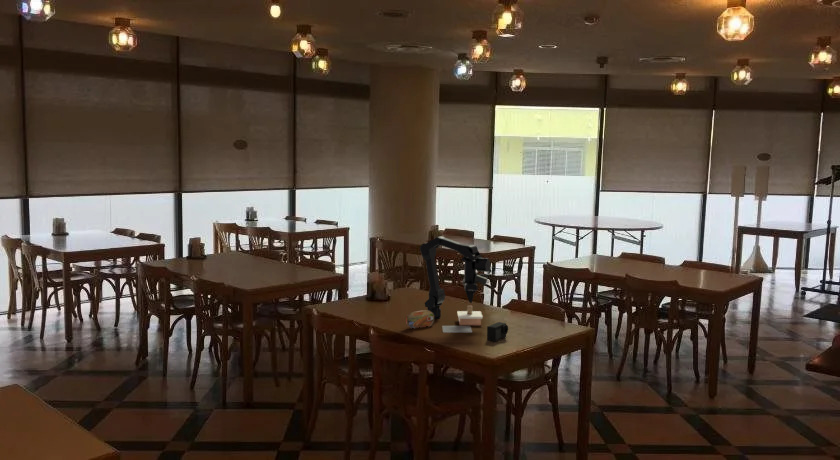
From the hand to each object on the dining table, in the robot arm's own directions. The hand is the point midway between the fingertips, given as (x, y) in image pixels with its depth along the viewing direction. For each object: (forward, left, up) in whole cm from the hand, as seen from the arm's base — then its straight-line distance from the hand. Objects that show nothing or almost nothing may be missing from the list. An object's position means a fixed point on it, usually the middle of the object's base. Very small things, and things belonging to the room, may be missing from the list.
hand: (470, 300), depth 359 cm
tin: (-25, -8, -12) cm, 29 cm away
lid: (0, 0, -8) cm, 8 cm away
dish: (0, 0, -12) cm, 12 cm away
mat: (-7, -12, -12) cm, 19 cm away
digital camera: (+11, -30, -12) cm, 34 cm away
